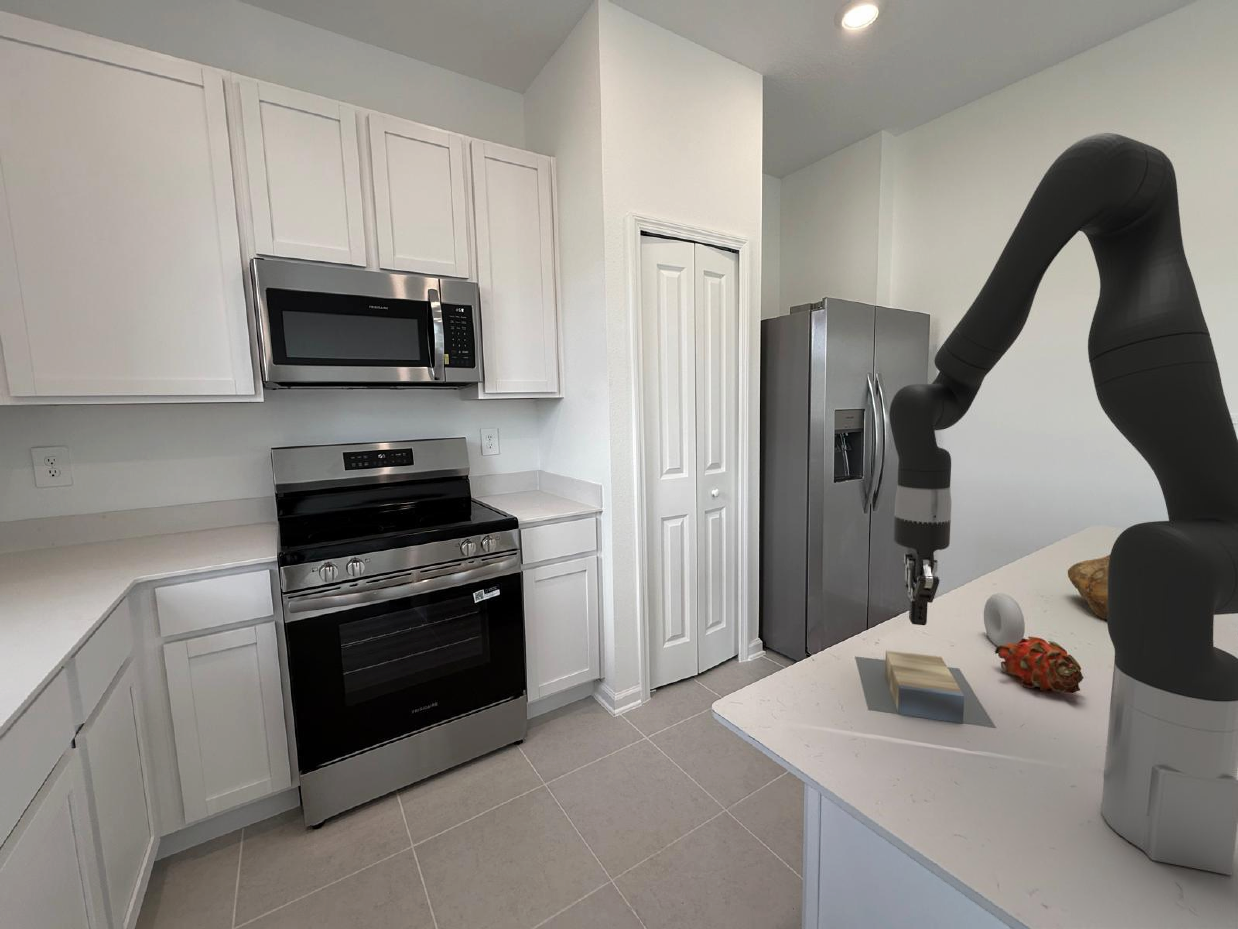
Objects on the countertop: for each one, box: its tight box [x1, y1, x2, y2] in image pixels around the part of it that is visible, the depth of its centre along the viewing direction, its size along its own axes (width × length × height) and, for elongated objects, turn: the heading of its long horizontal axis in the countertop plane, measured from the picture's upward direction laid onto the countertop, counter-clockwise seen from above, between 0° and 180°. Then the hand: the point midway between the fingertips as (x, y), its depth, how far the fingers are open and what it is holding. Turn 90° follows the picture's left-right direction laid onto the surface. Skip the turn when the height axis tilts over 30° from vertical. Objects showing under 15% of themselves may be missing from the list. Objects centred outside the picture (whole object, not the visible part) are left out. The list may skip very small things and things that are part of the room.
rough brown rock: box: [1067, 554, 1110, 620], centre depth 112 cm, size 23×17×15 cm
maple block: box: [884, 650, 964, 724], centre depth 81 cm, size 4×8×12 cm
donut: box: [983, 592, 1026, 648], centre depth 97 cm, size 10×3×10 cm, turn 168°
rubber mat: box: [854, 656, 997, 729], centre depth 83 cm, size 17×16×1 cm
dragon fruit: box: [992, 636, 1085, 694], centre depth 84 cm, size 8×8×12 cm
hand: (917, 622), depth 84 cm, fingers closed
